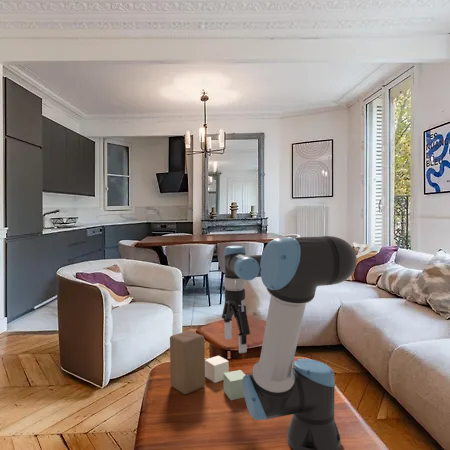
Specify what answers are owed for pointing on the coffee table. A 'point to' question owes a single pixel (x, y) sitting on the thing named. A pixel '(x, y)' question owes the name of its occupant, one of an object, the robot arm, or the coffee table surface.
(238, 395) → the sage cube
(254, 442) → the coffee table surface
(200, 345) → the wooden block
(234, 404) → the coffee table surface
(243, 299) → the robot arm
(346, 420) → the coffee table surface
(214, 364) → the cream cube
